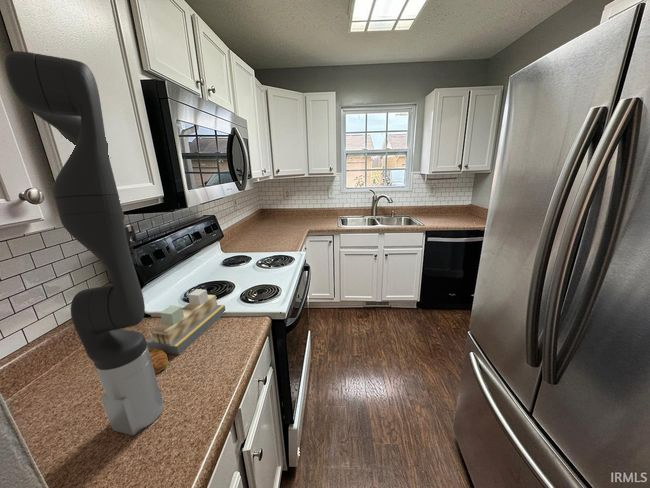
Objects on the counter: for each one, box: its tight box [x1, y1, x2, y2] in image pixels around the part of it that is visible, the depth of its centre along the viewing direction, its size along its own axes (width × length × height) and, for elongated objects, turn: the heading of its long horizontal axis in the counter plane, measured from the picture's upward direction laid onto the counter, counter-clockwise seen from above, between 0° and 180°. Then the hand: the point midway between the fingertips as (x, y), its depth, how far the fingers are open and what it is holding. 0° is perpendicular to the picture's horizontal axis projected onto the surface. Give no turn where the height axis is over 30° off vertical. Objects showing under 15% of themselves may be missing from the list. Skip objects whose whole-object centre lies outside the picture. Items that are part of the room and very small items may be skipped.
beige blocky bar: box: [151, 294, 218, 345], centre depth 93 cm, size 24×6×5 cm, turn 166°
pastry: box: [149, 348, 169, 374], centre depth 77 cm, size 9×7×4 cm
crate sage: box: [159, 305, 184, 325], centre depth 86 cm, size 4×4×4 cm
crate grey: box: [187, 288, 209, 305], centre depth 97 cm, size 4×4×4 cm
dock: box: [146, 304, 227, 356], centre depth 94 cm, size 25×12×3 cm, turn 166°
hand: (120, 257), depth 81 cm, fingers open, 8 cm apart
